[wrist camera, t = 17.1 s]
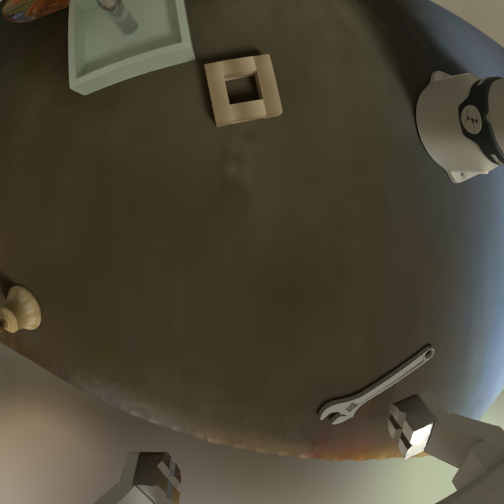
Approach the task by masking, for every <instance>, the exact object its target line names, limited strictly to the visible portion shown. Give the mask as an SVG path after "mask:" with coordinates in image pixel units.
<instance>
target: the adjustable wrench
mask: <svg viewBox="0 0 504 504" xmlns="http://www.w3.org/2000/svg"><path fill="white" fill-rule="evenodd" d="M429 350H430V352H429V354H428V355H426V356H425V354H426V353H427V351H429ZM433 354H434V349H433V348H432V347H431V346H427V347H426V348H424V349H423V350H422V351H420V352H419V353H418V354H416V355H415V356H414V357H412V358H411V359H410V360H408V361H407V362H405V363H404V364H403V365H401V366H400V367H398V368H397V369H396V370H394V371H393V372H391V373H390V374H388V375H387V376H385V377H384V378H382V379H381V380H379V381H378V382H376V383H375V384H373V385H371V386H370V387H368V388H367V389H365V390H363V391H362V392H360V393H358V394H356V395H353V396H350V397H347V398H343V399H338V400H333V401H331V402H329V403H327V404H325V405H324V406H323V407H322V408H321V410H320V411H319V417H320V419H321V420H323V419H324V418H325V417H326V416H327V415H328V414H329V413H332V412H339V413H337V414H336V415H334V416H333V417H332V418H331V419H330V422H331V424H338V423H341V422H343V421H345V420H347V419H349V418H350V417H353V415H354V414H355V411H356V410H357V409H358V408H359V407H360V406H361V405H362V404H363V403H365V402H366V401H368V400H369V399H371V398H373V397H374V396H376V395H378V394H379V393H381V392H382V391H384V390H386V389H387V388H389V387H390V386H392V385H393V384H395V383H396V382H398V381H399V380H401V379H402V378H404V377H405V376H407V375H408V374H409V373H411V372H412V371H414V370H415V369H416V368H418V367H419V366H421V365H422V364H423V363H425V362H426V361H427V360H429V359H430V358H431V357H432V356H433Z"/></svg>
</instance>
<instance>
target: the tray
mask: <svg viewBox="0 0 504 504" xmlns="http://www.w3.org/2000/svg"><path fill="white" fill-rule="evenodd" d="M122 1H123V2H124V4H125V5H126V7H127V8H128V10H129V11H130V13H131V15H132V16H133V18H134V19H135V21H136V22H137V24H138V28H137V30H136V31H135V32H134V33H132V34H129V35H125V34H123V33H122V32H121V31H120V29H119V28H118V27H117V26H116V25H115V23H114V22H113V21H112V20H111V18H110V17H109V16H108V15H107V14H106V12H105V11H104V10H103V9H102V8H101V6H100V5H99V4H98V3H97V2H96V0H70V2H69V21H68V63H69V83H70V89H72V90H74V91H76V92H78V93H80V94H82V95H84V96H85V95H87V94H90V93H92V92H95V91H97V90H100V89H102V88H105V87H107V86H110V85H113V84H115V83H118V82H121V81H124V80H126V79H129V78H132V77H135V76H138V75H142V74H145V73H148V72H151V71H155V70H158V69H162V68H165V67H169V66H173V65H177V64H181V63H185V62H189V61H193V60H195V55H194V49H193V44H192V39H191V33H190V28H189V22H188V17H187V11H186V6H185V0H122Z"/></svg>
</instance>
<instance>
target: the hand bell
mask: <svg viewBox="0 0 504 504" xmlns="http://www.w3.org/2000/svg"><path fill="white" fill-rule="evenodd" d="M40 322H41V311H40V307H39V304H38V302H37V300H36V299H35V297H34V296H33V294H32V293H31V292H30V291H29V290H28V289H26V288H25V287H23V286H19V285H16V286H13V287H12V288H11V289H10V290H9V292H8V295H7V302H6V304H5V305H4V306H3V307H2V308H1V309H0V333H1V332H2V331H4V330H5V329H6V330H7V331H9V332H12V333H14V332H16V331H18V330H19V329H21V328H25V329H29V330H32V329H36V328H37V327H38V326H39V325H40Z"/></svg>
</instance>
